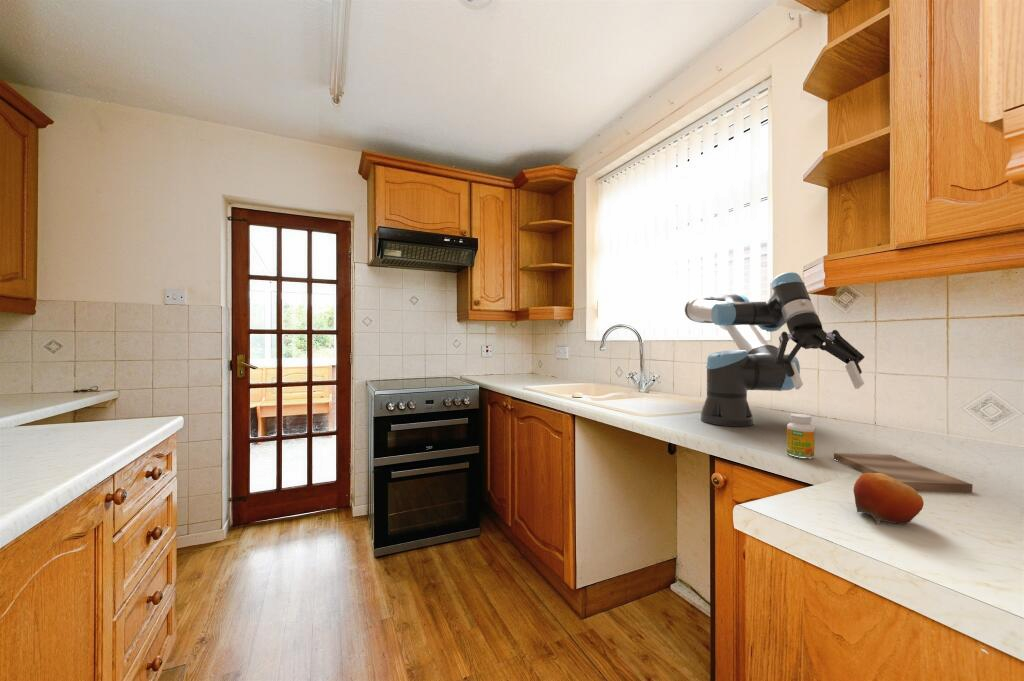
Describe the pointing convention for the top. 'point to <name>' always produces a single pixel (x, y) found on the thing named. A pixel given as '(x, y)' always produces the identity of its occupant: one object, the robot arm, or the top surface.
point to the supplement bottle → (801, 436)
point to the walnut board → (904, 472)
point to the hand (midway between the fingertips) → (829, 386)
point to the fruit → (886, 498)
